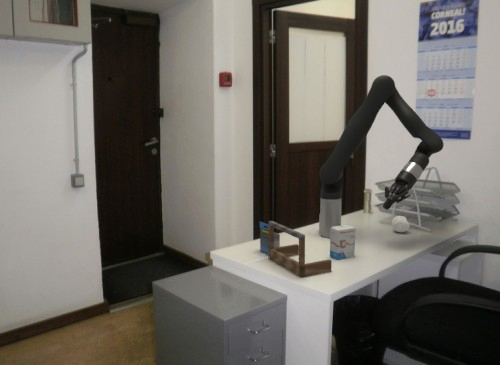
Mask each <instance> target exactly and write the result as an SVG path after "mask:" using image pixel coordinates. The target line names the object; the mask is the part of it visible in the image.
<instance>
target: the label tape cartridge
mask: <svg viewBox="0 0 500 365" xmlns="http://www.w3.org/2000/svg"><path fill="white" fill-rule="evenodd" d="M280 238H281V235H280V233H277V232H275V231H274V248H276V247H281V246H280V244H281V242H280ZM259 244H260V245H259V248H260V252H262V253H265V254H267V255H269V230H268V223H265V222H263V221H259Z"/></svg>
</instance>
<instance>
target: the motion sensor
mask: <svg viewBox="0 0 500 365" xmlns="http://www.w3.org/2000/svg"><path fill="white" fill-rule="evenodd" d="M391 220H392V221H391V226H392V229H393V230H394V231H395V232H397V233H399V234H400V233H401V234H402V233H406V232H407V231H408V230H409V229H410V226H411V224H410V222H408V220H407V217H406V216H402V215H395V217H393V219H391Z"/></svg>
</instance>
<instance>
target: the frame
mask: <svg viewBox="0 0 500 365" xmlns="http://www.w3.org/2000/svg"><path fill="white" fill-rule="evenodd" d="M267 224H268V227H267V228H268V230H269V254H268V260H270V261H272V262H274V263H275V264H277V265H279V266H280V267H282V268H284V269H285V270H287V271H289V272H291V273H292V274H294V275H296V276H297V277H300V278H306V277H311V276H315V275H321V273H322V274H325V273H326V272H327V273H331V272H332V263H333V262H332V260H331V259H324V260H318V261H313V262H308V263H306V235H305V234H303V233H301V232H299V231H297V230H295V229H292V228H290V227H288V226H285V225H283V224H280V223H278V222H276V221H273V220H268V223H267ZM275 229H276V230H279V231H280V232H283V233H285V234H287V235H290V236H291V237H294V238H296V239H298V243H294V244H289V245H284V246H280V247H276V248H274V232H275ZM296 256H298V261H297V260H296V259H293V258H291V257H296Z"/></svg>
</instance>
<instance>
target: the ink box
mask: <svg viewBox="0 0 500 365" xmlns="http://www.w3.org/2000/svg"><path fill="white" fill-rule="evenodd" d="M356 229H357V228H356V227H354V226H353V225H352V226H351V225H350V224H343V225H342V224H341V226H334V227H332V228H331V231H330V238H329V239H330V240H329V257H330V258H333V259H334V260H337V261H339V260H344V259H349V258H354V257H355V252H356V251H355V250H356Z"/></svg>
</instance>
